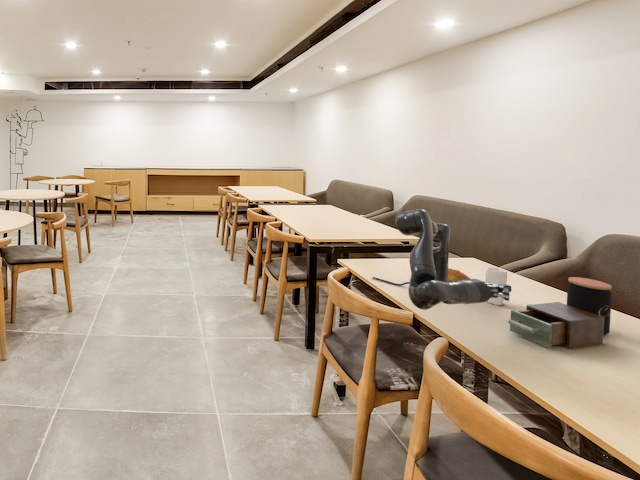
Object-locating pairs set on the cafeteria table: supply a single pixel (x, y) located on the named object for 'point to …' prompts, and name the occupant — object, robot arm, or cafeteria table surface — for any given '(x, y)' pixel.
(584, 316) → the cabinet
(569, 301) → the coffee jar
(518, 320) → the drawer
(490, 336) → the cafeteria table surface
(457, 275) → the croissant
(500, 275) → the white cup
